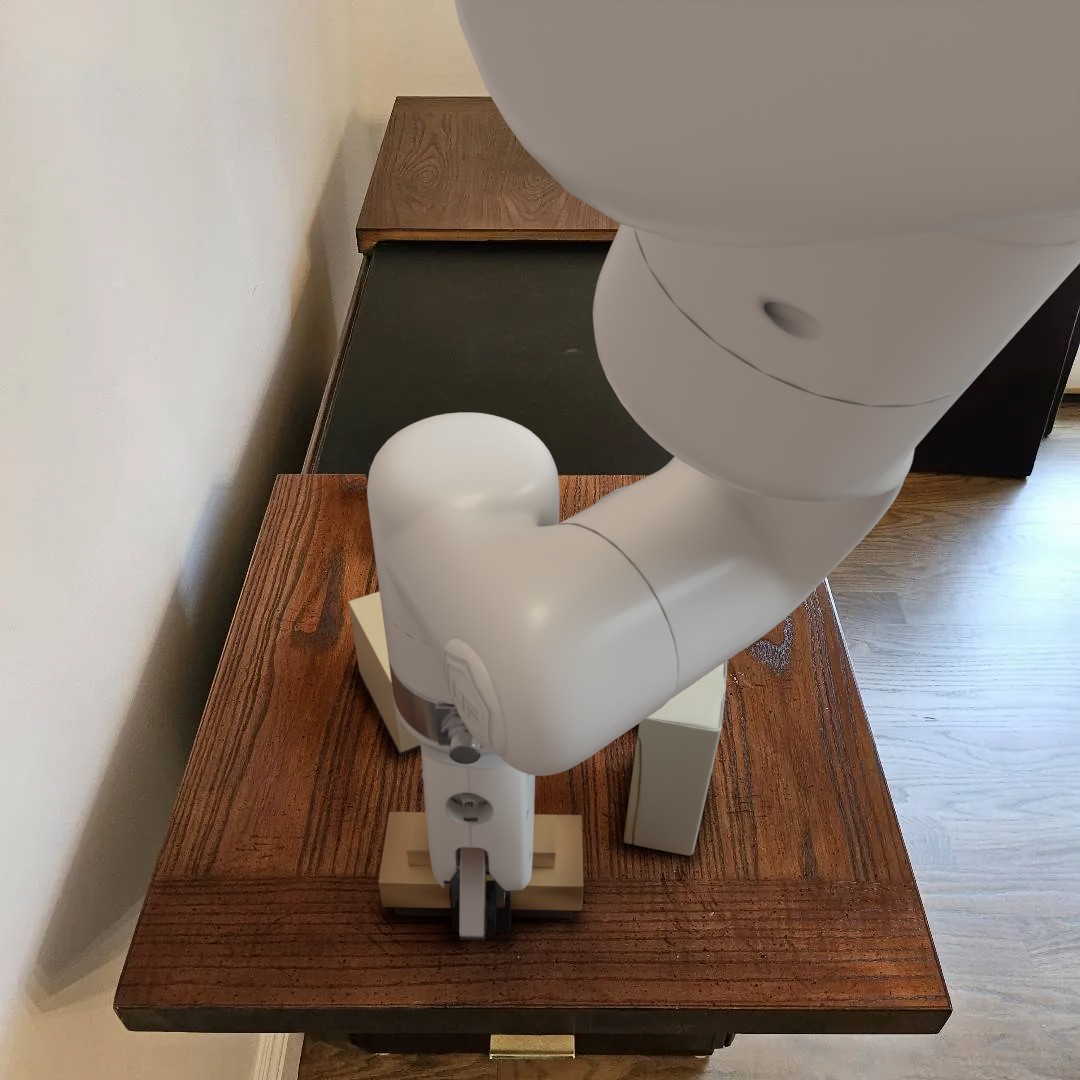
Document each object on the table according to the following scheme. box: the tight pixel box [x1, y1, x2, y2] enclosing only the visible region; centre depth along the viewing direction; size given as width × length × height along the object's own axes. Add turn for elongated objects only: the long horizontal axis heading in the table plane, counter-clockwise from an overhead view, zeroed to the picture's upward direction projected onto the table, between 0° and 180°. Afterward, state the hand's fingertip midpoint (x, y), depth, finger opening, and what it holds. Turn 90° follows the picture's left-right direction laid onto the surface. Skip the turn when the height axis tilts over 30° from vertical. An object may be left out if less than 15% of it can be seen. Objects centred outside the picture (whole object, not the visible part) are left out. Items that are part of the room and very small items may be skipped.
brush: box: [378, 811, 584, 919], centre depth 56 cm, size 11×4×6 cm, turn 89°
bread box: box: [348, 591, 421, 757], centre depth 67 cm, size 9×12×7 cm
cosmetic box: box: [623, 660, 728, 856], centre depth 58 cm, size 6×4×12 cm
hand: (485, 883), depth 57 cm, fingers closed on brush, 4 cm apart
